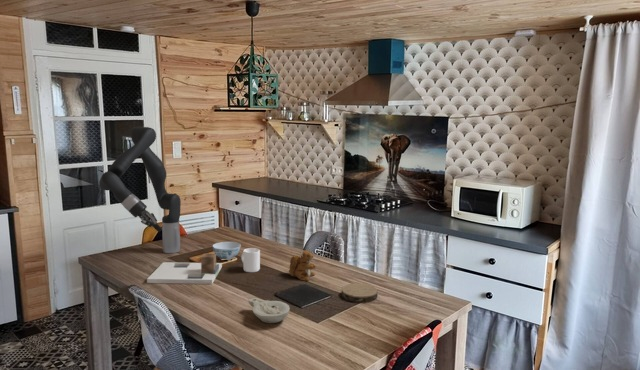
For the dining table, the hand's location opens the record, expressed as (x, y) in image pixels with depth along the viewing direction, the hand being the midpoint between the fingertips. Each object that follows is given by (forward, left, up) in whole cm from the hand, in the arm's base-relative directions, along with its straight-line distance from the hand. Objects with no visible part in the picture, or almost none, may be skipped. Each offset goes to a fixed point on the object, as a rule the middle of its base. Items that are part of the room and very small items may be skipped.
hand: (160, 230), depth 231 cm
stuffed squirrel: (-17, +66, -22) cm, 72 cm away
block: (-5, +23, -20) cm, 31 cm away
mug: (-20, +38, -22) cm, 48 cm away
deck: (-3, +12, -22) cm, 25 cm away
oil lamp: (+32, +66, -22) cm, 77 cm away
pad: (-6, +23, -22) cm, 32 cm away
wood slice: (-1, +98, -22) cm, 100 cm away
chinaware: (-32, +20, -22) cm, 43 cm away
